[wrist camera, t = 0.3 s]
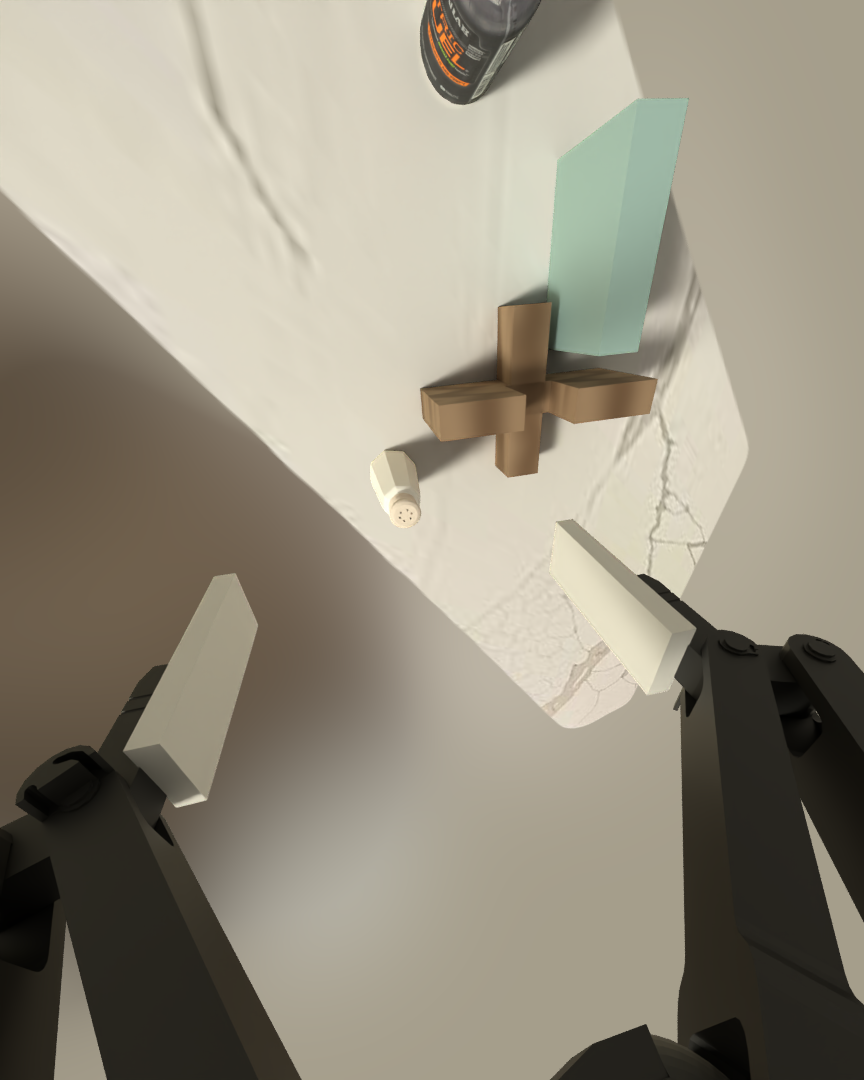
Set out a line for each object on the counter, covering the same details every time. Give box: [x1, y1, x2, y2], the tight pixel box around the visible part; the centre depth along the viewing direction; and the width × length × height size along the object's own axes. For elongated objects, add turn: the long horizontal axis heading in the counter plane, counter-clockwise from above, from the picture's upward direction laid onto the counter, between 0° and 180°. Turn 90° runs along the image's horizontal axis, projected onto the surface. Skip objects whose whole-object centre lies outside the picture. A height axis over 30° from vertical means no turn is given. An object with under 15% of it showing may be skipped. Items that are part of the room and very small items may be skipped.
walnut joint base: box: [420, 302, 658, 477], centre depth 36 cm, size 20×16×9 cm
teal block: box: [547, 98, 689, 356], centre depth 30 cm, size 14×4×10 cm, turn 4°
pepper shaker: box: [370, 451, 421, 528], centre depth 37 cm, size 5×5×11 cm
